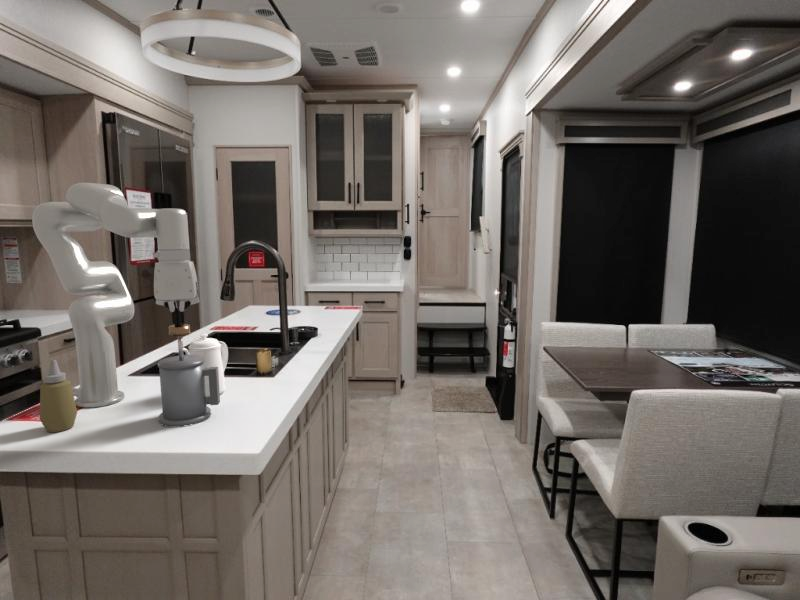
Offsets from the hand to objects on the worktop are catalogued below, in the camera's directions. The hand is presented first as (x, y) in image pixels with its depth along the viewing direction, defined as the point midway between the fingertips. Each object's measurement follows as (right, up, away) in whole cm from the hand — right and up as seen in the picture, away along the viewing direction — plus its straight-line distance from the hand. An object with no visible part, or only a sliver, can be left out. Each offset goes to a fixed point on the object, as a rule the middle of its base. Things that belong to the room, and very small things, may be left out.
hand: (179, 325), depth 132 cm
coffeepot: (-2, -23, +23) cm, 33 cm away
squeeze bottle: (-29, -27, -3) cm, 40 cm away
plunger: (0, -9, +1) cm, 9 cm away
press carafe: (+1, -25, +4) cm, 25 cm away
